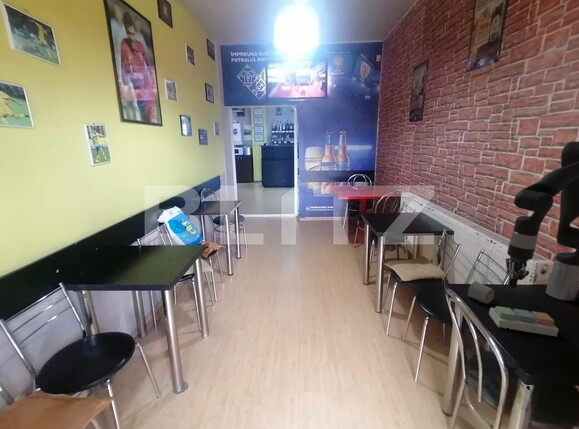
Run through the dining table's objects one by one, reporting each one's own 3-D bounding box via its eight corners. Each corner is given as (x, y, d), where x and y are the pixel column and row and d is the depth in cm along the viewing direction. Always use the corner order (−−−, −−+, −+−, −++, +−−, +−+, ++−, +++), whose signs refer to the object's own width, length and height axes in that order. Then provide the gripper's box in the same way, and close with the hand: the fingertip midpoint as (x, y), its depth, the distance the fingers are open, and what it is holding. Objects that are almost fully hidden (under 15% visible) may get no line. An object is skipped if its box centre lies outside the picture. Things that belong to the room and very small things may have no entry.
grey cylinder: (485, 306, 125) (489, 290, 123) (466, 298, 131) (469, 282, 129) (496, 300, 130) (500, 285, 128) (477, 292, 137) (480, 277, 135)
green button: (508, 314, 116) (509, 308, 115) (514, 321, 111) (516, 315, 110) (494, 312, 117) (495, 306, 116) (499, 319, 112) (501, 312, 112)
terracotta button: (544, 319, 113) (546, 313, 112) (552, 327, 108) (554, 320, 107) (529, 317, 114) (531, 311, 113) (536, 324, 109) (538, 318, 109)
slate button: (526, 316, 114) (528, 310, 114) (533, 324, 110) (534, 318, 109) (511, 314, 115) (513, 308, 115) (517, 322, 111) (519, 315, 110)
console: (542, 322, 115) (544, 315, 114) (556, 336, 107) (558, 329, 106) (489, 313, 120) (490, 307, 119) (498, 327, 111) (499, 320, 110)
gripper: (544, 252, 99) (532, 297, 104) (524, 240, 112) (514, 280, 116) (519, 249, 101) (508, 293, 105) (502, 237, 113) (493, 277, 118)
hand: (511, 286), depth 111 cm, fingers closed
